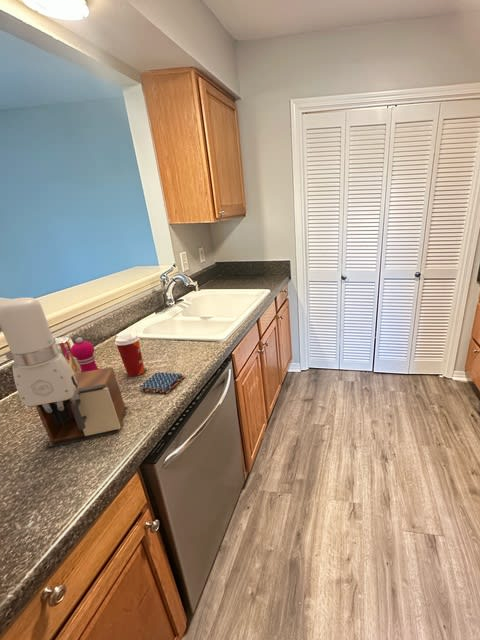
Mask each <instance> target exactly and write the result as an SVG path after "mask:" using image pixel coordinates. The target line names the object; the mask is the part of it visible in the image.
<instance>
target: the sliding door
mask: <svg viewBox="0 0 480 640" xmlns="http://www.w3.org/2000/svg"><path fill="white" fill-rule="evenodd" d="M72 403H73V404H71V405H70V407H71V410H72V412H73V415H74V417H75V420H76V422H77V425H78V427H79V429H80V430H82V429H83V432H84V434H85V436H88V435H93V434H98V433H102V432H107V431H111V430H116V429H119V430H120V429H121V424H120V423H119V420H118V417H117V414H116V411H115V408H114V405H113V402H112V399H111V396H110V393H109V390H108V387H107V388H103V389H100V390H95V391H90V392H84V393H81V395H80V397H79V398H78V399H76V400H73V401H72Z"/></svg>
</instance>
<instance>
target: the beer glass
mask: <svg viewBox="0 0 480 640" xmlns="http://www.w3.org/2000/svg"><path fill="white" fill-rule="evenodd" d="M53 339H54V342H55V345H56V348H57V350H58V353H59V354H62V355H63V356H64V358H65V359H66V361H67V362H68V364H69V366H70V368H71V369H72V371H73V374H75V373H81V368H80V365H79V364H77V361H76V358H75V357H73V356H72V354H71V347H72V346H73V345H74V344H75V343H74V341H73V339H72V337H71V336H66V335H65V336H59V337H56V338H53Z"/></svg>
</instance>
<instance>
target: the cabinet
mask: <svg viewBox="0 0 480 640" xmlns="http://www.w3.org/2000/svg"><path fill="white" fill-rule="evenodd" d="M74 376H75V378H76V381H77V384H78V388H77V389H78V390H79V392H80V393H84V392H90V391H95V390H100V389H103V388H107V387H108V390H109V393H110V396H111V399H112V402H113V405H114V408H115V411H116V414H117V417H118V420H119V423H120V425H121V423H122V420H123V418H124V414H125V411H126V406H125V402H124V399H123V396H122V393H121V390H120V386H119V383H118V381H117V378H116V374H115V371H114V367H113V366H111V367H104V368H99V369H98V370H93V371H87V372H81V373H75V374H74ZM71 404H73V403H72V401H70V402H69V403H68V404H67V406H66V407H67V409H68V412H69V415H70V417H69V419H68V420H67V422H66V424H65V425H60V426H57V425H56V423H55V422H54V421H53V419H52V417H51V414H50V413H47V412H46V410H44V409H42V408H39V407H35V409H36V412H37V413H38V415H39V418H40V421H41V422H42V425H43V427H44V430H45V431H46V434H47V436H48V439H49V441H50V443H49V445H48V448H54V447H58V446H59V447H60V446H64V445H67V444H68V445H69V444H72V443H76V442H81V441H85V440H90V439H94V438H95V439H97V438H99V437H104V436H109V435H114V434H118V433H119V430H120V429H116V430H111V431H107V432H102V433H98V434H93V435H88V436H85V434H84V432H83V429H82V430H80V429H79V427H78V425H77V422H76V420H75V417H74V415H73V412H72V410H71V407H70V405H71ZM56 405H57V402H56Z"/></svg>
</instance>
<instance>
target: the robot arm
mask: <svg viewBox="0 0 480 640" xmlns="http://www.w3.org/2000/svg"><path fill="white" fill-rule="evenodd" d="M0 333H2V334H3V335H4V338H5V341H6V343H7V345H8V348H9V350H10V352H7V353H6V354H5V358H6V359H7V360H13V362H14V364H13V365H12V375H13V381H14V383H15V384H14V385H15V388H16V391H17V395H18V397H19V400H20V402H21V404H22V405H23V406H25V407H27V408H36V407H39V408H42V409H44V410H46V412H47V413H50V414H51V417H52V419H53V421H54V422H55V423H56V425H57V426H60V425H65V424H66V422H67V420H68V419H69V417H70V415H69V412H68V409H67V407H66V406H67V404H68V403H69V402H70V401H73V400H76V399H78V398H79V397H80V395H81V393H80V392H79V390H78V389H77V388H78V384H77V381H76V378H75V376H74V374H73V371H72V369H71V368H70V366H69V364H68V362H67V361H66V359H65V358H64V356H63V355H62V354H59V353H58V350H57V348H56V345H55V342H54V339H55V338H54V337H53V334H52V332H51V329H50V325H49V323H48V320H47V317H46V315H45V312H44V309H43V307H42V304H41V303H40V301H39V300H38V299H37V298H35V297H25V296H24V297H17V298H8V297H0ZM56 402H57V405H56Z"/></svg>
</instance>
